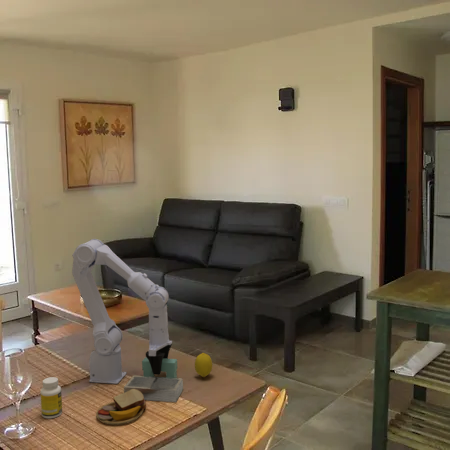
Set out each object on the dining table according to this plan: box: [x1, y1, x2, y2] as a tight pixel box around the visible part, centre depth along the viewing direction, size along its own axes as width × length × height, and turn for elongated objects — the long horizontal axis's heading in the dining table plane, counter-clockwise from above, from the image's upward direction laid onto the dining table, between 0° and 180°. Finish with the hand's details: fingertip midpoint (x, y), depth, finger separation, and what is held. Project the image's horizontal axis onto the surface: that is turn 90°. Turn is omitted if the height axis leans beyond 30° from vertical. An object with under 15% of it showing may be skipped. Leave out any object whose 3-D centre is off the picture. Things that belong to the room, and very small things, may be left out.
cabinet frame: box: [123, 375, 184, 403], centre depth 153 cm, size 15×8×4 cm, turn 80°
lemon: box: [194, 352, 213, 378], centre depth 164 cm, size 6×6×8 cm
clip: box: [141, 356, 178, 378], centre depth 163 cm, size 10×3×6 cm, turn 80°
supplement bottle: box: [39, 376, 63, 419], centre depth 142 cm, size 5×5×10 cm
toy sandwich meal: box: [95, 389, 147, 426], centre depth 142 cm, size 12×14×5 cm
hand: (159, 369), depth 163 cm, fingers open, 6 cm apart
